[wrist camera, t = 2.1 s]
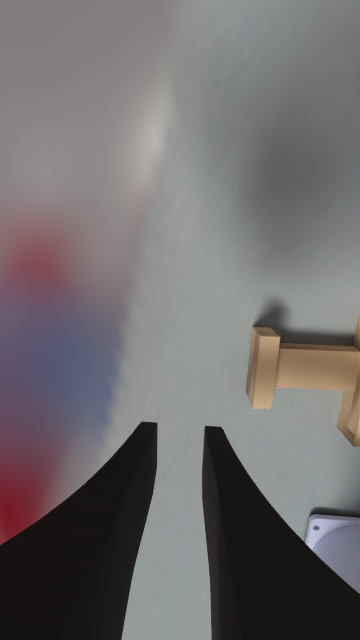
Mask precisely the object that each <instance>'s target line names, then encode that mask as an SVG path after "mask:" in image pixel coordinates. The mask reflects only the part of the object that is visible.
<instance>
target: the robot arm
mask: <svg viewBox="0 0 360 640" xmlns="http://www.w3.org/2000/svg"><path fill="white" fill-rule="evenodd" d="M156 469H157V423H154V422H141V423H140V424H139V425H138V426H137V428H136V429H135V430H134V432H133V433H132V434H131V435H130V437H129V438H128V439H127V440H126V441H125V443H124V444H123V445H122V446H121V447H120V448H119V449H118V451H117V452H116V453H115V454H114V455H113V456H112V457H111V458H110V459H109V460H108V461H107V462H106V463H105V464H104V465H103V467H102V468H101V469H100V470H99V471H98V472H97V473H96V474H95V475H93V476H92V477H91V478H90V479H89V480H88V481H87V482H86V483H85V484H84V485H83V486H82V487H80V488H79V489H78V490H77V491H76V492H74V494H72V495H71V496H70V497H69V498H67V499H66V500H65V501H63V502H62V503H61V504H60V505H58V506H57V507H56V508H54V509H53V510H52V511H50V512H49V513H48V514H46V515H45V516H44V517H42V518H41V519H40V520H38V521H37V522H36V523H34V524H33V525H31V526H29V527H28V528H26V529H25V530H23V531H22V532H20V533H19V534H17V535H16V536H14V537H12V538H11V539H9V540H8V541H6V542H5V543H3V544H1V545H0V640H121V638H122V632H123V626H124V620H125V614H126V609H127V603H128V597H129V592H130V586H131V580H132V576H133V571H134V567H135V562H136V558H137V554H138V550H139V546H140V542H141V538H142V535H143V531H144V527H145V523H146V519H147V515H148V511H149V507H150V503H151V499H152V495H153V489H154V483H155V476H156ZM202 500H203V510H204V521H205V531H206V541H207V551H208V561H209V573H210V590H211V629H212V640H360V518H357V517H345V516H333V515H320V514H314V515H312V516H310V518H309V523H308V529H307V534H306V539H305V542H304V541H303V540H302V539H301V538H300V537H299V536H298V535H297V534H296V533H295V532H294V531H293V530H292V529H291V528H290V527H289V525H288V524H287V523H286V522H285V521H284V520H283V519H282V518H281V516H280V515H279V514H278V513H277V512H276V510H275V509H274V508H273V507H272V506H271V504H270V503H269V502H268V501H267V499H266V498H265V497H264V495H263V494H262V493H261V491H260V490H259V489H258V487H257V486H256V484H255V483H254V482H253V480H252V479H251V477H250V476H249V474H248V473H247V471H246V470H245V468H244V467H243V465H242V463H241V462H240V460H239V459H238V457H237V455H236V454H235V452H234V450H233V448H232V446H231V445H230V443H229V441H228V439H227V437H226V435H225V433H224V430H223V429H222V428H221V427H214V426H205V433H204V450H203V466H202Z"/></svg>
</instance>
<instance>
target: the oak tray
mask: <svg viewBox="0 0 360 640" xmlns="http://www.w3.org/2000/svg"><path fill="white" fill-rule="evenodd" d="M274 387H281V388H303V389H324V390H344V392H343V397H342V402H341V407H340V412H339V417H338V422H337V428H338V429H339V430H340V431H341V432H342V434H343V435H344V436H345V437H346V438H347V440H348V441H349V442H350V443H351V444H352V445H353V447H360V311H359V316H358V321H357V326H356V331H355V336H354V341H353V346H337V345H316V344H292V343H280V336H279V335H278V334H276V333H275V332H274V331H273V330H272V329H271V328H270V327H253V328H252V338H251V348H250V358H249V367H248V377H247V387H246V393H247V395H248V398H249V400H250V403H251V405H252V408H253V409H271V406H272V398H273V390H274Z"/></svg>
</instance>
